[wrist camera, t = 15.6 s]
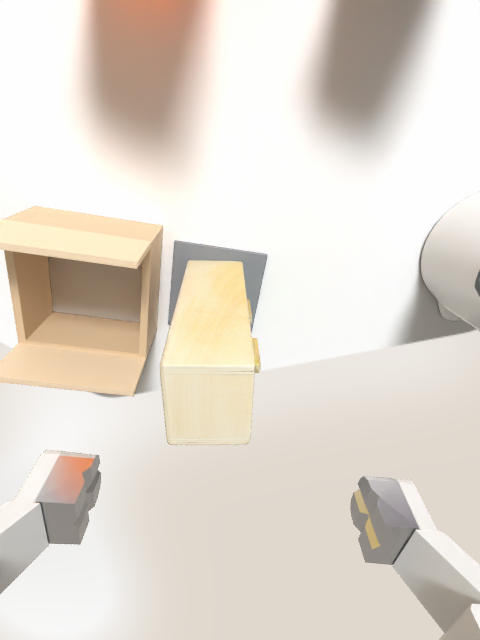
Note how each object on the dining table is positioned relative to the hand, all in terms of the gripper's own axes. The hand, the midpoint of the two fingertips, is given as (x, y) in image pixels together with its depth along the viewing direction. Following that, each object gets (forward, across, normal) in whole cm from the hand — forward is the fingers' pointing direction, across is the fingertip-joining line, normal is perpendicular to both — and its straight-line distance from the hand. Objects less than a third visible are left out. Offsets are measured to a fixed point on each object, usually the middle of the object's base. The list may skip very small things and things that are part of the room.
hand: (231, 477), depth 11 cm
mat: (+34, +1, +9) cm, 35 cm away
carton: (+34, +15, +8) cm, 38 cm away
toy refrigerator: (+33, +1, +9) cm, 35 cm away
